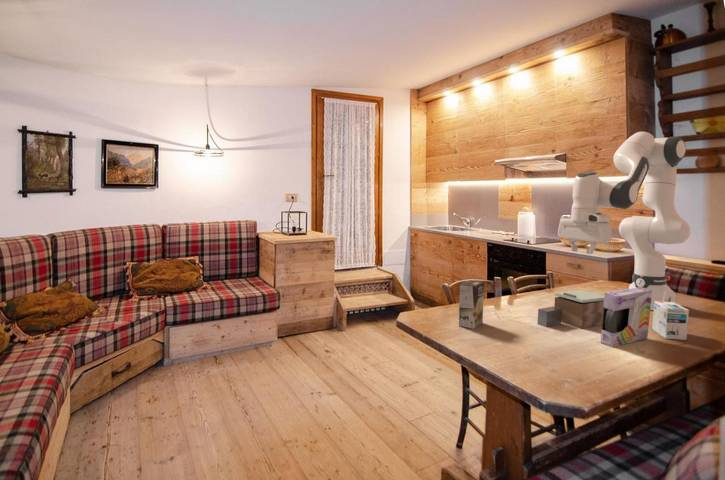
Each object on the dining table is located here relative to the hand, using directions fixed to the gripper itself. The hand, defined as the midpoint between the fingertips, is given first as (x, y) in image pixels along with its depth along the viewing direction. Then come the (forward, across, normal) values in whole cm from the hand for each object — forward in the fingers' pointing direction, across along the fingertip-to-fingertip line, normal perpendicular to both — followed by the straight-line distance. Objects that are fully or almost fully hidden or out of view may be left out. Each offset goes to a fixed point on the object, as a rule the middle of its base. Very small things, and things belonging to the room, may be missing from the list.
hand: (581, 252), depth 163 cm
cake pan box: (+27, +21, -5) cm, 35 cm away
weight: (+27, -3, -12) cm, 30 cm away
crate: (+27, 0, +2) cm, 27 cm away
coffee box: (+27, -16, -39) cm, 50 cm away
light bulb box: (+27, +24, +16) cm, 40 cm away
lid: (+18, 0, +2) cm, 18 cm away
